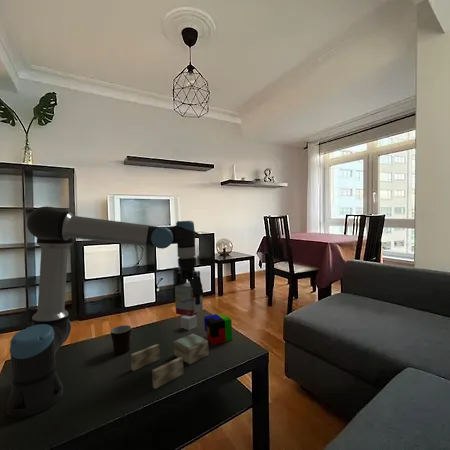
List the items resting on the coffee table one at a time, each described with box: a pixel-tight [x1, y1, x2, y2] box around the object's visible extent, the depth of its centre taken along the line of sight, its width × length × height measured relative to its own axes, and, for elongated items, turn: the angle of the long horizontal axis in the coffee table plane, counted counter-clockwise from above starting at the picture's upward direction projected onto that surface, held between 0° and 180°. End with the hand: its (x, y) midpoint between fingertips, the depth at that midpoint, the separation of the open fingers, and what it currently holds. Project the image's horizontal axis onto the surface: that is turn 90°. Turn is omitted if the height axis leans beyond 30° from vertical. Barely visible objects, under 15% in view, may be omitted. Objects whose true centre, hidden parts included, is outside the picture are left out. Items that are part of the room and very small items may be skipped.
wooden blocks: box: [130, 333, 209, 390], centre depth 108 cm, size 28×18×6 cm, turn 134°
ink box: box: [174, 281, 204, 316], centre depth 114 cm, size 9×9×12 cm
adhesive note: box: [180, 314, 198, 331], centre depth 144 cm, size 6×6×6 cm
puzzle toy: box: [203, 312, 233, 346], centre depth 129 cm, size 10×10×10 cm
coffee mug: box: [110, 324, 132, 356], centre depth 122 cm, size 12×9×10 cm
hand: (189, 309), depth 114 cm, fingers closed on ink box, 10 cm apart
